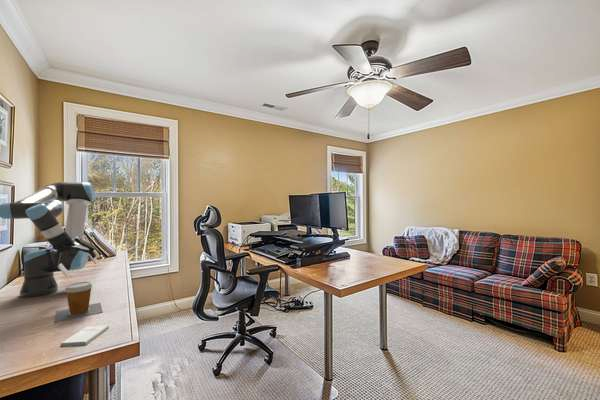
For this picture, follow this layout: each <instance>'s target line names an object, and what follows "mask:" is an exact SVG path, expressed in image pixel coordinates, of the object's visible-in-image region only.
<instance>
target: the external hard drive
mask: <svg viewBox="0 0 600 400" xmlns="http://www.w3.org/2000/svg"><path fill="white" fill-rule="evenodd" d="M108 329H109V325H89V326H88V325H87V326H85V327H84V328H82V329H80V330H79V331H78V332H76V333H75V334H73V335H71V336H70V337H68V338H67V339H66V340H65V339H64V341H62V342H61V343H60V347H68V346H69V347H71V346H87V345H88V344H89V343H91V342H92V341H94V340H95V339H96V338H98V337H99V336H100V335H102V333H104V332H105V331H107V330H108Z"/></svg>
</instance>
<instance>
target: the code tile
mask: <svg viewBox="0 0 600 400" xmlns="http://www.w3.org/2000/svg"><path fill="white" fill-rule="evenodd" d="M102 313H103V308H102V303H101V302H97V303H91V304H90V303H89V308H88V311H86V312H84V313H81V314H76V315H71V314H70V311H69V308H65V309H60V310H56V312H55V315H54V320H53V324H56V323H60V322H64V321H68V320H69V321H70V320H74V319H78V317H79V318H82V317H83V316H84V317H87V316H92V315H97V314H102Z"/></svg>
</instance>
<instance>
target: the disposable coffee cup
mask: <svg viewBox="0 0 600 400" xmlns="http://www.w3.org/2000/svg"><path fill="white" fill-rule="evenodd" d="M92 287H93V284H92V282H91V281H81V282H75V283H70V284H68V285H66V287H65V289H64V291H65V292H66V298H67V303H68V309H69V311H70V314H71V315H76V314H81V313H84V312H86V311H88V308H89V305H90V301H91V293H92Z"/></svg>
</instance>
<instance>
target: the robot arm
mask: <svg viewBox="0 0 600 400" xmlns="http://www.w3.org/2000/svg"><path fill="white" fill-rule="evenodd" d="M95 199H96V193H95V189H94V186H93V185H92V183H90V182H84V181H81V182H80V181H79V182H75V181H72V182H70V181H67V182H66V181H60V182H54V183H50V184H47V185H45V186H41V187H39V189H37V191H35V192H34V193H32V194H30V195H28V196H26V197H24V198H21V199H20V200H17V201H15V202H3V203H1V204H0V218H1V219H3V220H15V219H16V220H18V219H19V220H20V219H29V220H30V221H31V222H32V223H33V225H34V226H35V227H36V228H37V230H38V231H39V232H40V233H41V235H42V236H44V238H45V239H46V240H47V242H48V243H49V244H50V246H49V247H47V248H44V249H43V248H42V249H39V250H38V249H37V250H33V251H29V252H27V253H25V254H24V255H23V279H24V280H23V282H22V285H21V288H20V290H19V297H20V298H32V297H39V296H44V295H48V294H49V295H50V294H51V293H54V292H56V291H58V290H59V285H58V283H57V281H56V279H55V276H54V275H55V274H54V273H59V272H61V273H62V274H63V275H64V276H65V277H68V276H69V275H70V272H69V271H71V272H73V271H77V270H78V271H79V270H83V269H84V267H85V266H86V264H87V263H88V260H89V259H90V260H91V261H92V262H93V264H94V265H97V264H98V262H99V260H98V259H97V258H96V257H97V254H96V253H95V252H94V251H95V249H96V246H95V245H94V244H91V243H89V242H87V241H86V240H84V231H85V225H86V224H85V223H86V216H87V210H88V209H87V208H88V206H90V205H91V202H94V201H95ZM63 202H65V204H67V205H68V209H67V215H66V216H67V217H66V223H65V228H64V227H63V226H62V225H61V224H60V222H59V221H58V219H57V218H58V217H59V216H60V215H61V214H62V213H63V212H64V210H65V206H64V203H63ZM51 246H52V247H51ZM88 258H89V259H88Z"/></svg>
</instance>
